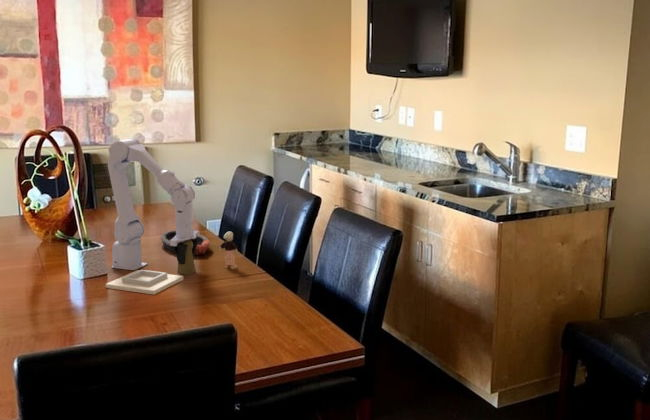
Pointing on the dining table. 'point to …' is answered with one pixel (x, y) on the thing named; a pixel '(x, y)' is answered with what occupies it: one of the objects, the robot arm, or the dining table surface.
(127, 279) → the holder board
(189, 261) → the cork
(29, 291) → the dining table surface
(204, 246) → the dish
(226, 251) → the grandmother figurine
